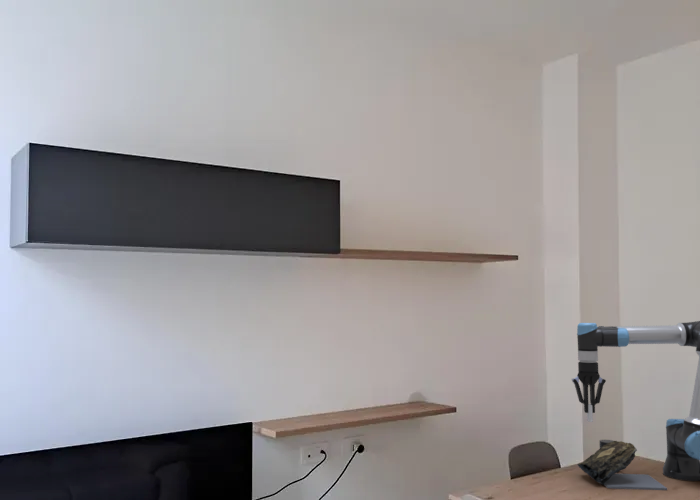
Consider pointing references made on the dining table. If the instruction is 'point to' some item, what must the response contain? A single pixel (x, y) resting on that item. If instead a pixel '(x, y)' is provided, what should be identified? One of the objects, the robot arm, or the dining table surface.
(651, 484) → the rubber mat
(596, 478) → the stone block
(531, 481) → the dining table surface
